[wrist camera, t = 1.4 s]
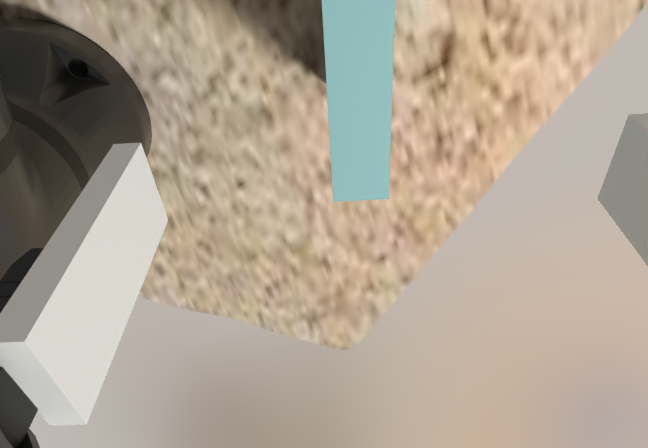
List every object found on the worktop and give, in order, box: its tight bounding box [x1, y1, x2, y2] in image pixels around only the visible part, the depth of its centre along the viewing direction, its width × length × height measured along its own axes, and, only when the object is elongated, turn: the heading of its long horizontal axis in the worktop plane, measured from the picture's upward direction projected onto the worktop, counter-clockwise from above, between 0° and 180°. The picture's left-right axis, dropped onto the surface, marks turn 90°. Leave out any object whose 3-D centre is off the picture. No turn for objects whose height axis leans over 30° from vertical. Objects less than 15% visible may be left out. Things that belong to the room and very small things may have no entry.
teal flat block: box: [322, 0, 395, 202], centre depth 27 cm, size 16×3×15 cm, turn 3°
